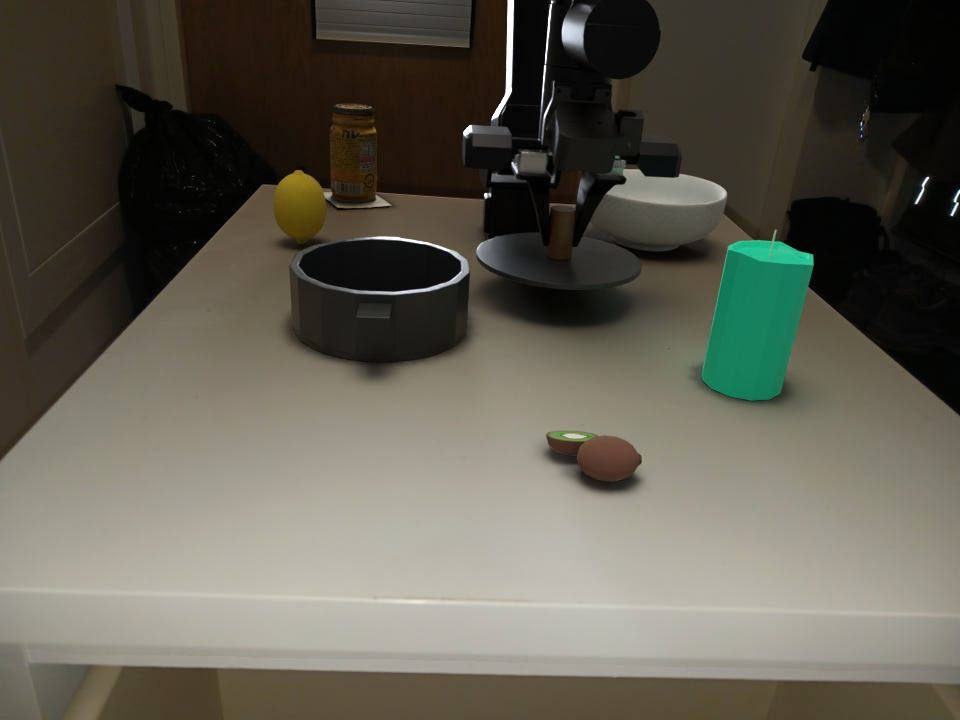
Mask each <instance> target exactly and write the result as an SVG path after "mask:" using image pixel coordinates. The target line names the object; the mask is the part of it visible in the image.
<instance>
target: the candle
mask: <svg viewBox="0 0 960 720" xmlns="http://www.w3.org/2000/svg"><path fill="white" fill-rule="evenodd" d="M777 232H778V229H774V232H773V234H772V240H760V239H755V240H752V239H751V240H738V241H736V242H734V243H731V244H729V245H728V246H727V249H726V255H725V260H724V264H723V269H722V275H721V278H720V279H721V280H720V284H719V289H718V293H717V297H716V303H715V308H714V313H713V318H712V323H711V326H710V327H711V328H710V333H709V337H708V341H707V347H706V352H705V357H704V361H703V366H702V370H701V381H703V382H704V384H706V385H707V386H708V387H709V388H710V389H711V390H713V391H716V392H718V393H720V394H723V395H725V396H727V397H731V398H735V399H741V400H746V401H750V402H751V401H770V400H772V399H774V398H775V397H777V396H779V395H781V394H782V389H783V386H784V383H785V378H786V374H787V370H788V366H789V363H790V358H791V355H792V351H793V347H794V343H795V338H796V335H797V331H798V327H799V324H800V320H801V316H802V312H803V309H804V306H805V305H804V304H805V300H806V296H807V293H808V289H809V285H810V281H811V278H812V274H813V269H814V266H815V265H814V254H811V253H808V252H804V251H799V250H798V249H796V248H793V247H791V246H790V245H788V244H786V243H784V242H783V241H775V240H776V235H777Z"/></svg>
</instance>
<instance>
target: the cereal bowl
mask: <svg viewBox="0 0 960 720" xmlns="http://www.w3.org/2000/svg"><path fill="white" fill-rule="evenodd" d="M623 176H624V177H625V178H627V180H626V183H625V184H624V185H615V186H614V187H613V188H612V189H610V190H609V191H608V192H607V193H606V195H605V196H604V197H603V199H602V200H601V202H600V203H599V205H598V207H597V208H596V210H595V212H594V214H593V215H592V218H591V220H590V222H589V224H591V226H593V227H594V228H595V229H596V230H597V231H599V232H600V233H603V234H604V235H607V237H611V238H612V239H613V241H614V242H615V243H617V244H618V245H621V246H622V247H626V248H629V249H633V250H638V251H645V252H667V251H672V250H674V249H678V247H680V246H684V245H687V244H691V243H695V242H697V241H699V240H702V239H704V238H705V237H707V236H708V235H709V234H711V233H712V232H713V231H714V230H715V229H716V228H717V226H719V223H720V221H721V220H722V218H723V215H724V212H725V209H726V206H727V205H726V204H727V200H728V192H727V190H726V189H725V188H724V187H723V186H721V185H720V184H718V183H715V182H713V181H710V180H708V179H704V178H702V177H698V176H693V175H689V174H688V175H687V174H683V173H679V177H676V178H664V177H645V176H644V175H643V174H642V172H641V171H640V170H639V169H637V168H636V169H633V168H632V169H629V168H628V169H627V168H625V169H623Z"/></svg>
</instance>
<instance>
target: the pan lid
mask: <svg viewBox="0 0 960 720" xmlns="http://www.w3.org/2000/svg"><path fill="white" fill-rule="evenodd" d="M575 208H576V207H573V206H569V205H561V204H560V205H553V206H550V235H549V242H548V246H544V245H543V243H542V239H541V234H540V233H517V234H509V235H503V236H499V237H495V238H492V239H489V240H488V239H487V240H484V241H483V242H481V243H480V244H479V245H478V247H477V249H476V254H475V255H476V260H477V262H478V264H479V265H480V266H481V267H483V268H484V269H485V270H487V271H488V272H490V273H491V274H494V275H496V276H498V277H500V278H503V279H506V280H509V281H512V282H515V283H521V284H524V285H527V286H534V287H539V288H545V289H546V288H547V289H555V290H556V289H557V290H568V291H590V290H604V289H605V290H606V289H611V288H615V287H620V286H624V285H626V284H630V283H632V282H634V281H635V280H636V279H637V278H639V276H640V275H641V272H642V268H643V266H642V261H641V259H640V258H639V257H637V255H635V253H633V252H631V251H629V250H628V249H626V248H623V247H621V246H619V245H616V244H614V243H610V242H607V241H604V240H600V239H596V238H591V237H588V236H582V238H581V241H580V243H579V245H578V246H577V247H573V240H574V231H575V222H576V214H577V209H575Z"/></svg>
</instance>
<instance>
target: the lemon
mask: <svg viewBox="0 0 960 720" xmlns="http://www.w3.org/2000/svg"><path fill="white" fill-rule="evenodd" d="M323 192H324V191H323V187H322V186H321V185H320V183H319V182H318V181H317V180H316V179H315V178H314V177H313V176H311V175H309V174H307V173H304V171H303V170H301V169H297V170H294V171H293V173H290V174H288V175H286V176H285V177H284V178H282V179H281V180H280V181H279V182H278V184H277V186H276V189H275V192H274V196H273V213H274V218H275V221H276V224H277V226H278V227H279V229H280V230H281V231H282V232H283V233H284V234H285V235H286V236H287V237H290V238H292V239H294V240H295V241H296V242H297V243H298V244H306V242H308V240H309V239H310V238H313V237H315V236H316V235H317V234H318V233H320V231H322V229H323V227H324V225H325V222H326V217H327V201H326V200H327V199H326V198H325V196H324V193H323Z"/></svg>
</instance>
